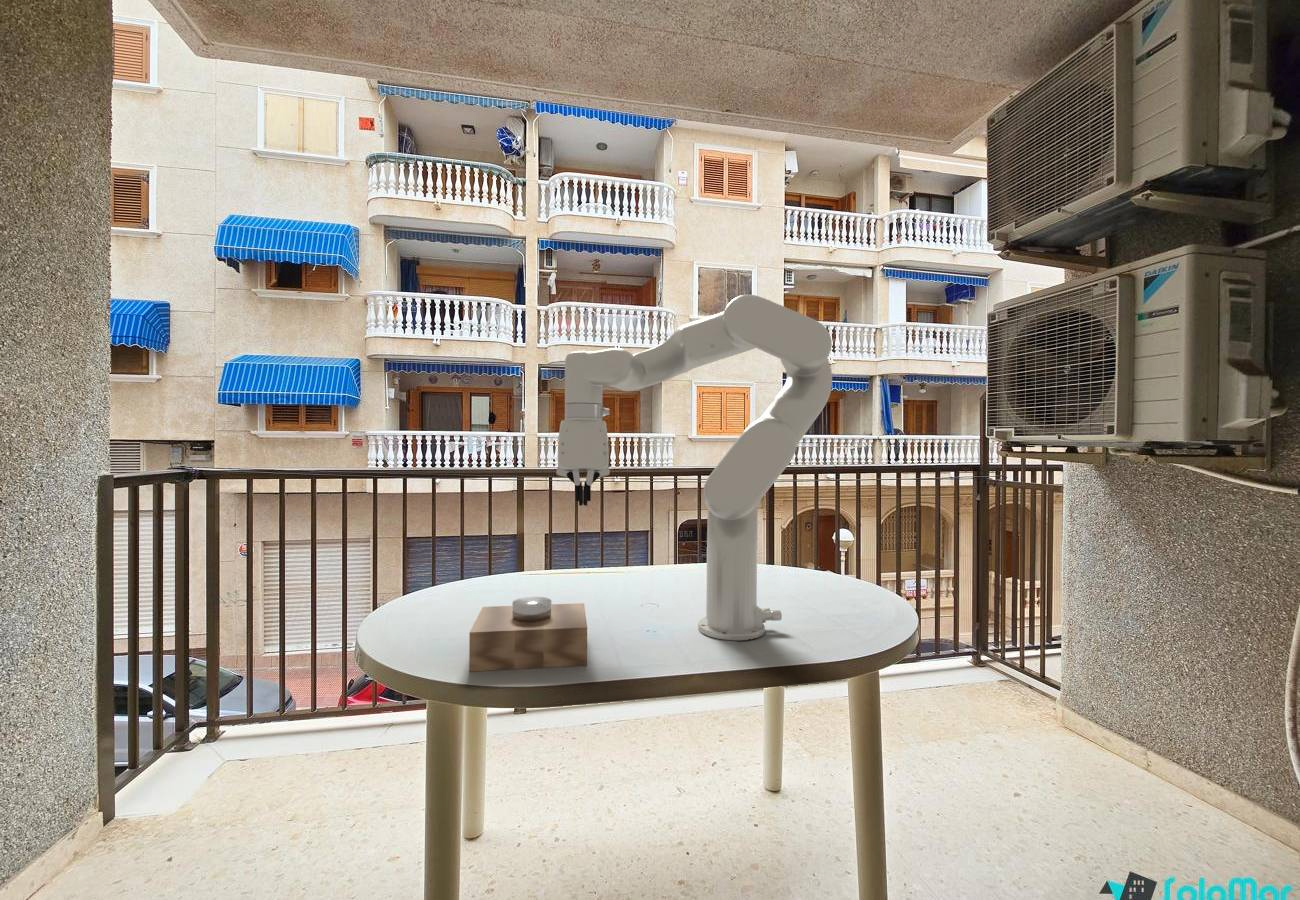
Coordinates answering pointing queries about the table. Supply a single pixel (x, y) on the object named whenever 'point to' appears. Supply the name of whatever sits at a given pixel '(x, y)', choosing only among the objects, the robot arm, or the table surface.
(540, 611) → the steel pin
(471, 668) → the walnut block
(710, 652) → the table surface
